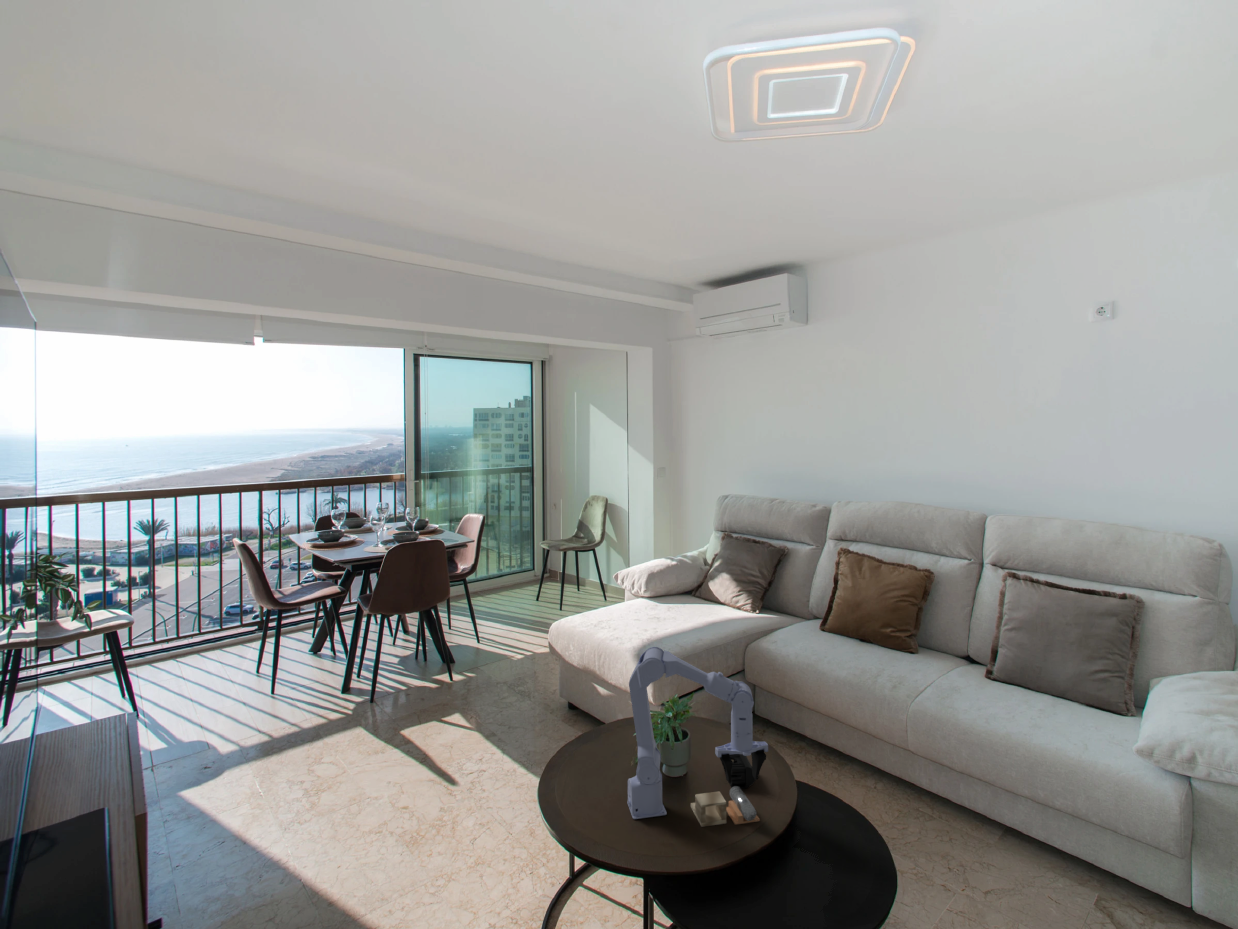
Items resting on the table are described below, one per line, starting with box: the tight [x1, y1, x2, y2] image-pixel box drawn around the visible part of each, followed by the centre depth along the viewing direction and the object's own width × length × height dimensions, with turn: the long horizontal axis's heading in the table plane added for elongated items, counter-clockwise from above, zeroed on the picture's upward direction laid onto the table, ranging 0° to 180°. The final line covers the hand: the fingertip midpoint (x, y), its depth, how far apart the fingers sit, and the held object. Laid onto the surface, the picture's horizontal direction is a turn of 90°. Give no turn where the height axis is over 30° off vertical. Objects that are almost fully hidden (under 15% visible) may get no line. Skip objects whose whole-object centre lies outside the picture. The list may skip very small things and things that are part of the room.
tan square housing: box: [690, 791, 727, 828], centre depth 162 cm, size 7×9×6 cm
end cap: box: [729, 754, 756, 790], centre depth 179 cm, size 10×7×7 cm
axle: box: [728, 786, 757, 821], centre depth 162 cm, size 10×4×4 cm, turn 11°
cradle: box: [726, 799, 761, 825], centre depth 162 cm, size 7×7×2 cm
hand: (741, 779), depth 162 cm, fingers open, 7 cm apart
